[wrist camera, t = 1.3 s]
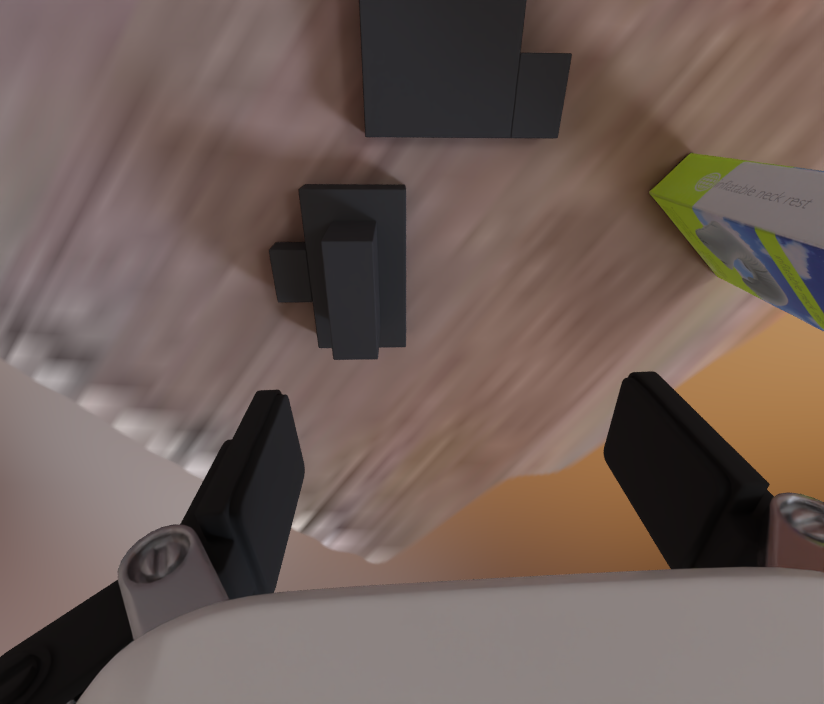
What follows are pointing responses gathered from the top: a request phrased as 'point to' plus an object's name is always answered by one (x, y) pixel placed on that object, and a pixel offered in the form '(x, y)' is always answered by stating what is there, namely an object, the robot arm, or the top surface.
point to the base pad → (456, 71)
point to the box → (754, 227)
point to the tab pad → (309, 253)
